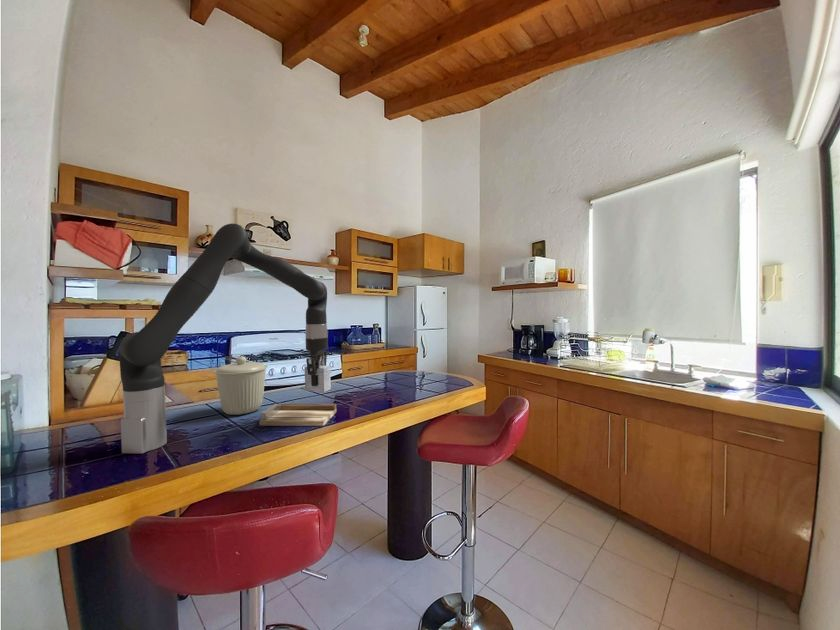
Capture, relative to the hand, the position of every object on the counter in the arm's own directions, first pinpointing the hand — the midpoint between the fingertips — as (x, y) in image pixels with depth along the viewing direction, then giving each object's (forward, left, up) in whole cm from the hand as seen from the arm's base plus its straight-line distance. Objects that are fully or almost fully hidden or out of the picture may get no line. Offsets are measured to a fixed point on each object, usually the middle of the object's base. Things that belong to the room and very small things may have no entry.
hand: (317, 383), depth 117 cm
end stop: (-2, +16, -11) cm, 20 cm away
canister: (+7, +32, -12) cm, 35 cm away
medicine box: (0, 0, -3) cm, 3 cm away
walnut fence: (+5, +6, -11) cm, 13 cm away
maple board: (-1, +6, -12) cm, 14 cm away
